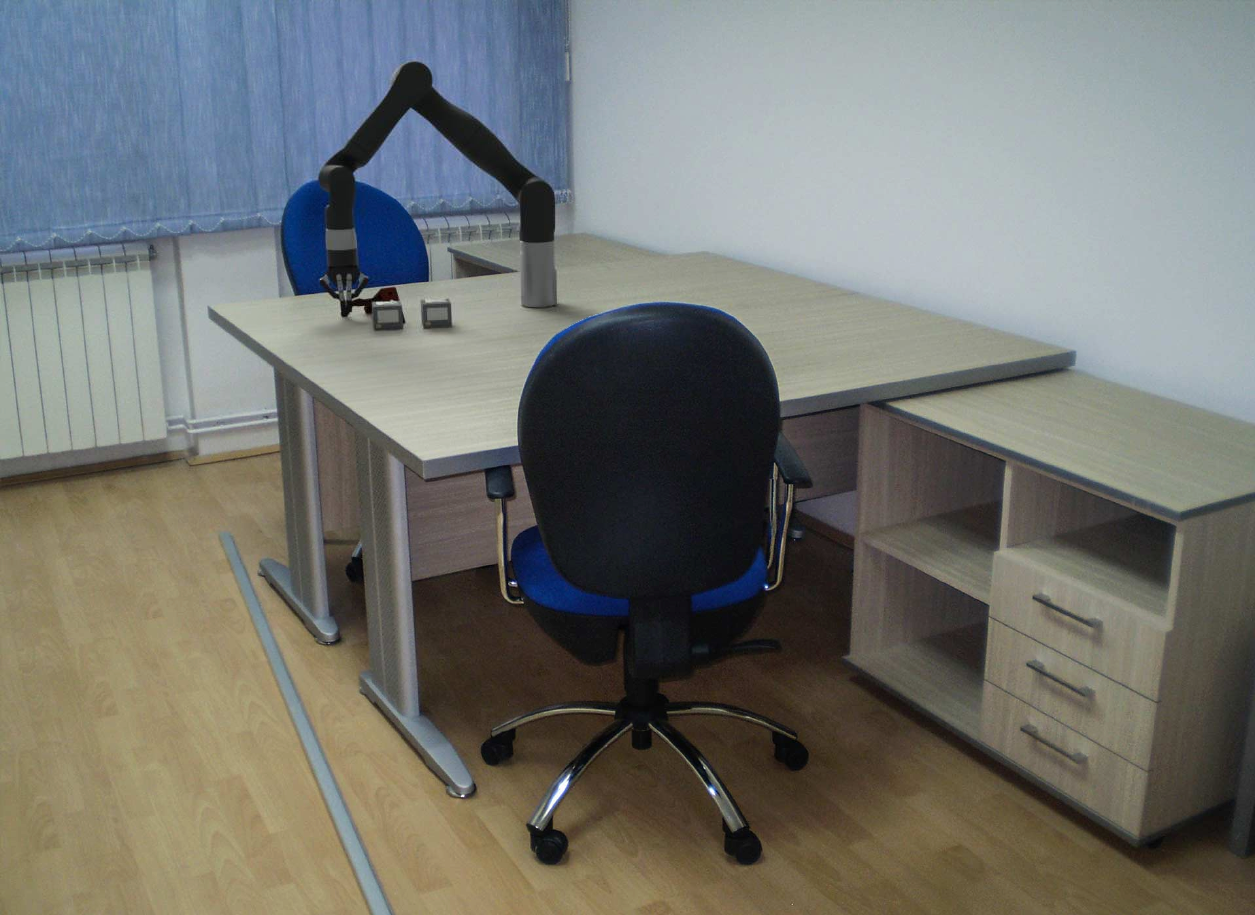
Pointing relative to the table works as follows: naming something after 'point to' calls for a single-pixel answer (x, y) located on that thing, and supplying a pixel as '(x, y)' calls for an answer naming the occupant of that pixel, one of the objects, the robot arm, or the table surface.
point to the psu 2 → (436, 313)
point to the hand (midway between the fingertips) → (346, 314)
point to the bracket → (376, 300)
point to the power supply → (387, 315)
